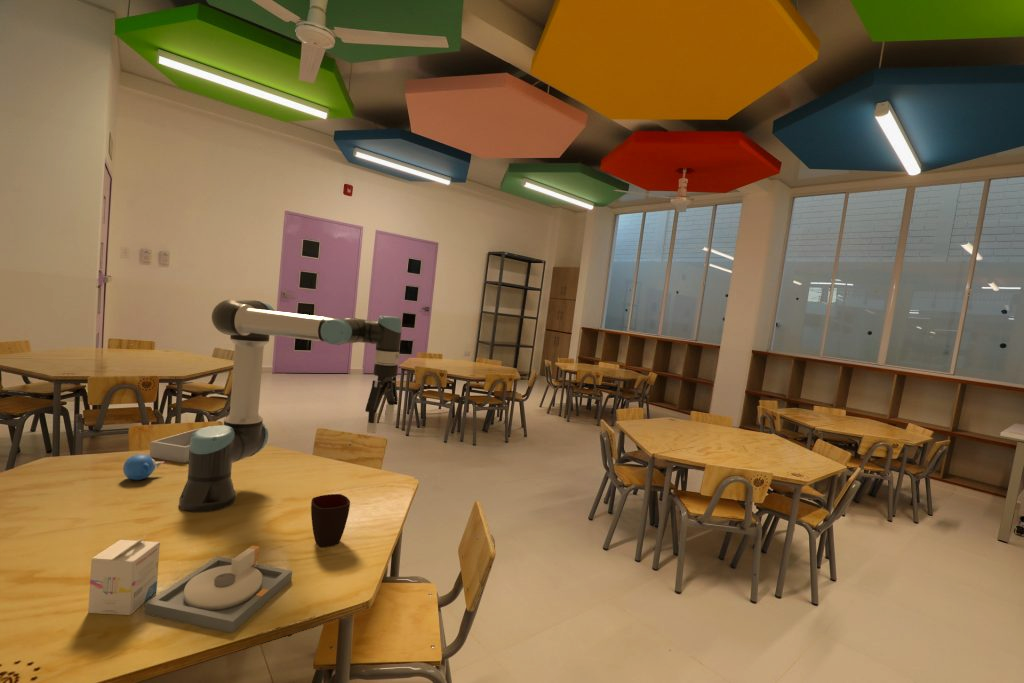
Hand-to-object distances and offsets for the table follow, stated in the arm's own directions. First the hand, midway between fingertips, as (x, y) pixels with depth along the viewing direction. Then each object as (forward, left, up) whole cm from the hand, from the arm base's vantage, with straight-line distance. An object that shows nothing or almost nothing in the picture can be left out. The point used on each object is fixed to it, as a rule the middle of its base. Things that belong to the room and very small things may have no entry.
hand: (380, 428), depth 158 cm
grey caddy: (-89, +25, -28) cm, 97 cm away
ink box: (-28, -61, -28) cm, 73 cm away
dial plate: (-11, -53, -28) cm, 61 cm away
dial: (-11, -52, -26) cm, 59 cm away
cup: (-4, -22, -28) cm, 36 cm away
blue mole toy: (-81, -4, -28) cm, 86 cm away
